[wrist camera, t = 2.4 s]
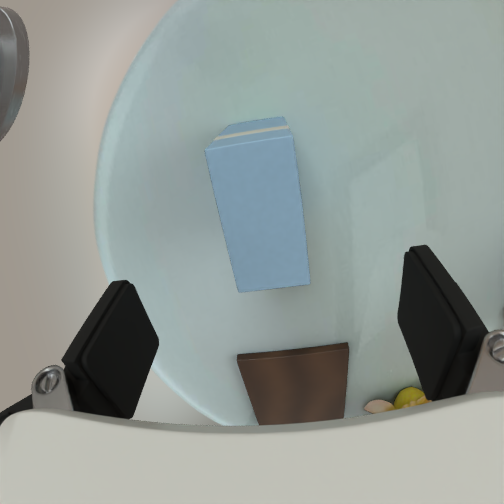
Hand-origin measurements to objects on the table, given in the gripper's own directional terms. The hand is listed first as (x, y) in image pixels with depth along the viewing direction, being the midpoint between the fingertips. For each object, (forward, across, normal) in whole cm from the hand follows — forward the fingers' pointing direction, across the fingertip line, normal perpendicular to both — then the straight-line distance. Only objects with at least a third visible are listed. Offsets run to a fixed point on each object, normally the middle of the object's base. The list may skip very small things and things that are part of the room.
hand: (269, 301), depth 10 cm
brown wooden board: (+15, 0, +27) cm, 31 cm away
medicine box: (+15, 0, 0) cm, 15 cm away
